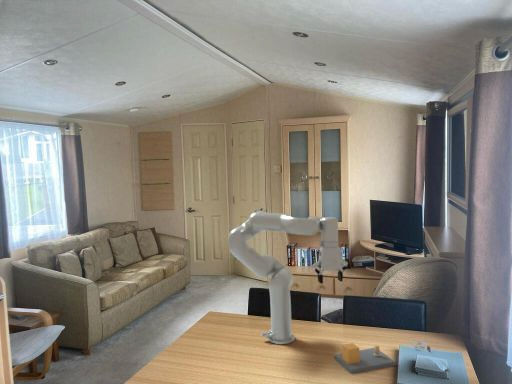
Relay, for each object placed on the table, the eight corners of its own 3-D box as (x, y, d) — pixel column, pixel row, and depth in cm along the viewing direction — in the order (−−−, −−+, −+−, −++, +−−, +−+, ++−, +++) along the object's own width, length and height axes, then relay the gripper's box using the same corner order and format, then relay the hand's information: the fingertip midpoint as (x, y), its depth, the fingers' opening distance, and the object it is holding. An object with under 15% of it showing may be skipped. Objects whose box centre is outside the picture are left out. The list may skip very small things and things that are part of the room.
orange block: (348, 364, 162) (348, 349, 162) (342, 358, 167) (342, 344, 167) (359, 362, 164) (359, 347, 163) (353, 356, 168) (352, 343, 168)
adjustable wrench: (449, 372, 157) (449, 368, 157) (432, 372, 158) (432, 368, 157) (424, 344, 182) (424, 341, 182) (409, 345, 183) (409, 341, 182)
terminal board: (351, 373, 158) (350, 359, 157) (334, 358, 171) (333, 345, 171) (395, 365, 163) (395, 351, 163) (375, 351, 177) (375, 338, 176)
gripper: (315, 247, 178) (316, 286, 179) (351, 244, 183) (351, 282, 184) (308, 244, 185) (309, 281, 186) (343, 241, 190) (343, 278, 191)
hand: (330, 281), depth 185 cm, fingers open, 9 cm apart
